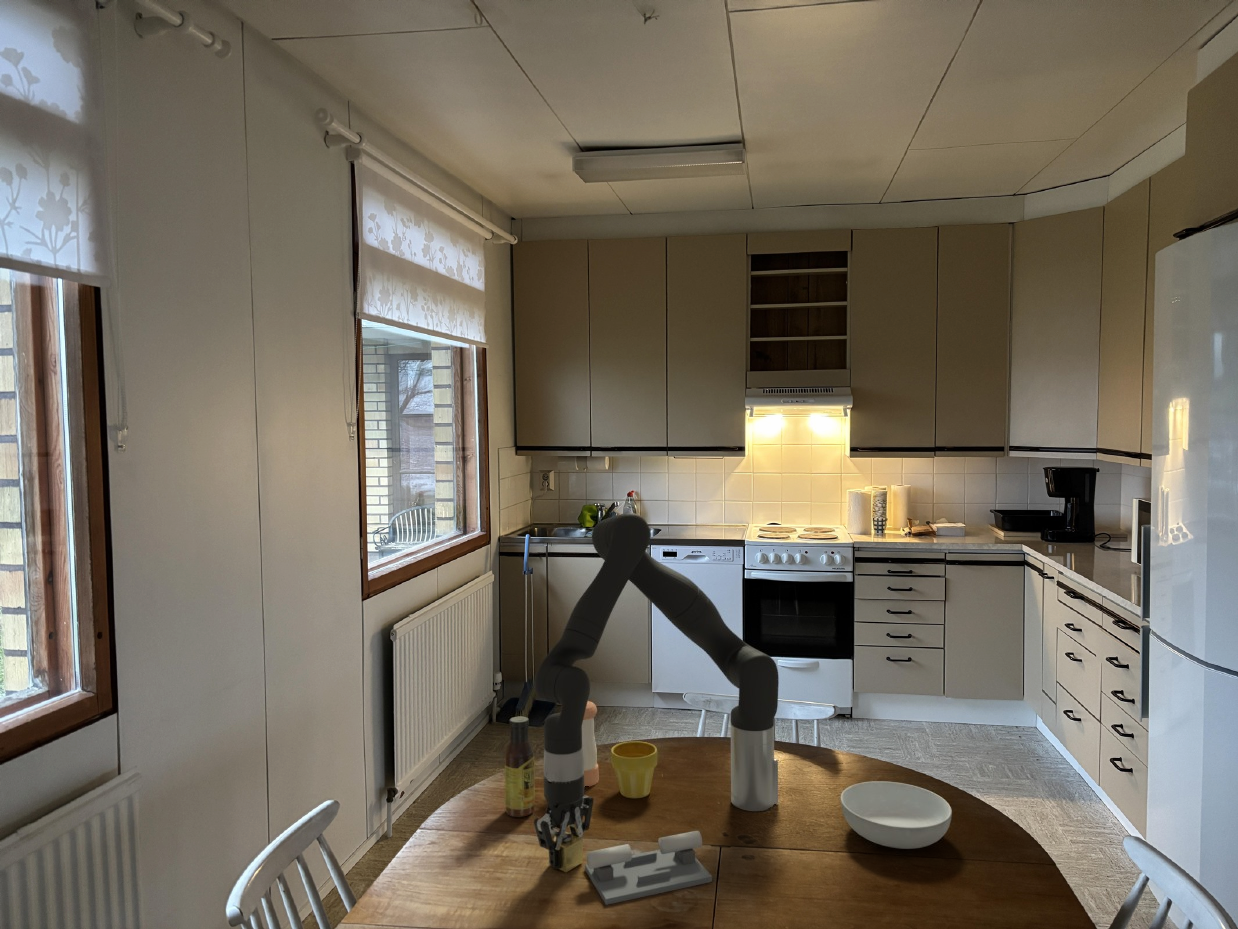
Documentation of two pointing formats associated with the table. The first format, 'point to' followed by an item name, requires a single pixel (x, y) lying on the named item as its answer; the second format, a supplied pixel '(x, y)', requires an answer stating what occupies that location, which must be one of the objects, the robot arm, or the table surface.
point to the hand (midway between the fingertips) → (565, 861)
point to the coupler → (570, 851)
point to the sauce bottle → (519, 770)
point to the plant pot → (634, 767)
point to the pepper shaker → (589, 746)
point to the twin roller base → (647, 868)
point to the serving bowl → (896, 813)
